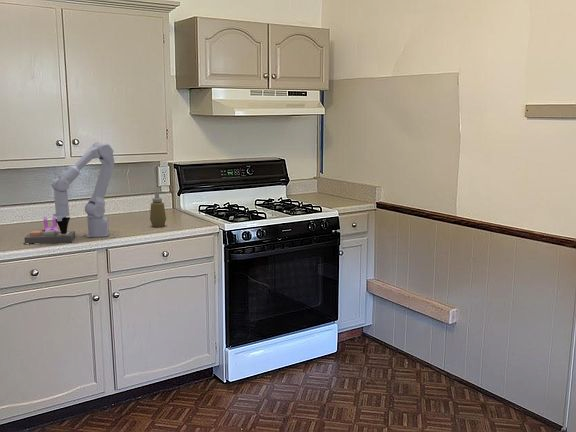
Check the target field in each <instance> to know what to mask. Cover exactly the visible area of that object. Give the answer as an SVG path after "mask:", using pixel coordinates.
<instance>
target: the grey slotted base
mask: <svg viewBox="0 0 576 432" xmlns="http://www.w3.org/2000/svg"><path fill="white" fill-rule="evenodd" d="M44 232H45V231H44ZM44 232H43V235H42V236H30V233H28V234H27V235H25V237H24V238H23V239H24V244H25V243H46V244H69V243H72V242H73V241H74V240H75V239H76V236H77V235H76V231H75V230H73V231H72V230H71V231H69V232H70V234H69V235H58V234H59V233H61V231H59V232H56V235H55V236H44Z"/></svg>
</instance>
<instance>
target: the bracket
mask: <svg viewBox="0 0 576 432" xmlns="http://www.w3.org/2000/svg"><path fill="white" fill-rule="evenodd" d="M56 219H57V217H56V216H53V215H52V226H48V225H49V224H48V223H49V221H48V217H47V216H43V227H44V228H43V229H44V232H45V231H46V230H56V232H60V229H58V228H59V227H58V224H57V222H56Z"/></svg>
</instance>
